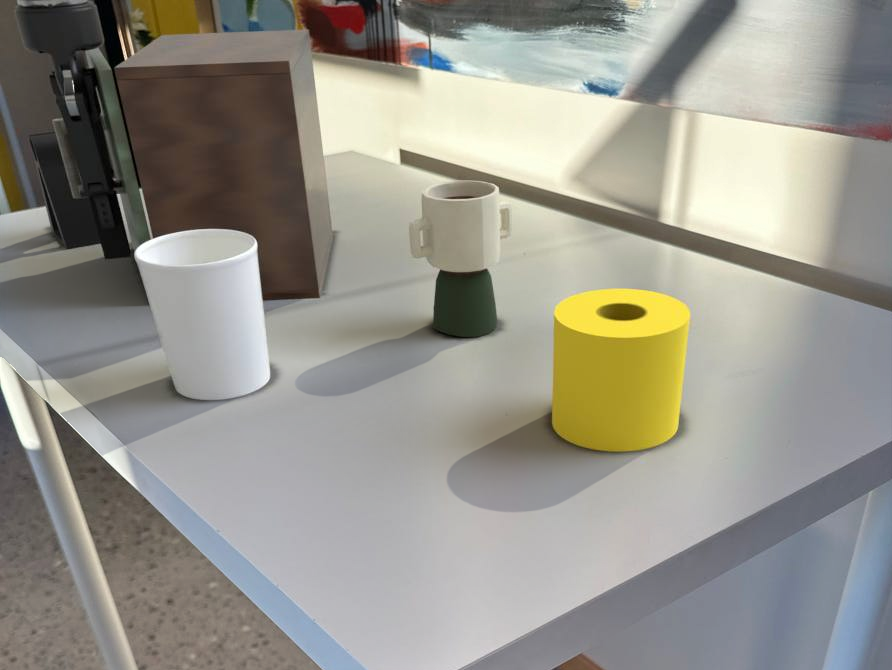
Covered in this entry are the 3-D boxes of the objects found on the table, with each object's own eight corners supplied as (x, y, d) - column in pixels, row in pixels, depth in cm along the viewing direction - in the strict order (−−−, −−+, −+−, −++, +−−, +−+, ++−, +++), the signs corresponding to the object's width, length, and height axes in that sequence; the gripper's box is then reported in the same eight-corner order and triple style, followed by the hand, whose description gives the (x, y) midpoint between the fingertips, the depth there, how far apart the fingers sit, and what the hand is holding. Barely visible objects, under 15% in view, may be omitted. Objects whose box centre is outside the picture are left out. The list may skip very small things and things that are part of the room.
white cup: (161, 374, 88) (128, 237, 81) (268, 356, 91) (245, 222, 84) (174, 418, 81) (139, 273, 74) (289, 397, 84) (267, 255, 76)
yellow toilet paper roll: (526, 430, 78) (526, 314, 72) (606, 390, 83) (612, 279, 77) (623, 471, 72) (632, 349, 66) (702, 426, 78) (717, 309, 72)
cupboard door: (103, 314, 101) (38, 75, 87) (88, 254, 117) (31, 45, 103) (165, 304, 102) (111, 69, 89) (143, 247, 118) (94, 40, 105)
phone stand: (116, 241, 121) (89, 135, 113) (66, 250, 119) (36, 142, 111) (99, 224, 127) (72, 122, 120) (52, 232, 125) (22, 129, 117)
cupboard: (168, 306, 102) (113, 67, 88) (203, 243, 119) (161, 34, 106) (320, 299, 103) (289, 60, 89) (333, 237, 120) (308, 29, 106)
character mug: (491, 309, 99) (488, 172, 91) (532, 330, 94) (533, 187, 86) (399, 333, 95) (387, 191, 86) (437, 356, 90) (428, 208, 82)
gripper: (89, 5, 87) (151, 271, 102) (99, -8, 97) (154, 236, 112) (1, 10, 86) (77, 278, 101) (21, -4, 96) (87, 242, 111)
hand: (118, 255), depth 107 cm, fingers closed
